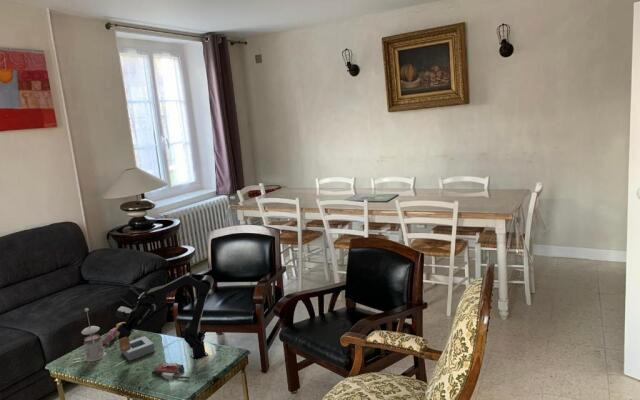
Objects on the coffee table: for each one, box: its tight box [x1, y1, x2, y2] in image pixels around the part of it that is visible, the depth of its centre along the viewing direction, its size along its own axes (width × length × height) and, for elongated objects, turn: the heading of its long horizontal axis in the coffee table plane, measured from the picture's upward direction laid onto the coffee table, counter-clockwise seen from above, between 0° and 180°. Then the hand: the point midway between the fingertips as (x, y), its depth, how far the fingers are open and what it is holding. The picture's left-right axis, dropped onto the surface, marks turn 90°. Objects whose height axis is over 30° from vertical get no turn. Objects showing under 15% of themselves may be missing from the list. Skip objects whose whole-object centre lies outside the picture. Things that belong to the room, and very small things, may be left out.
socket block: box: [121, 335, 155, 361], centre depth 234 cm, size 12×12×4 cm
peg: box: [115, 321, 131, 353], centre depth 222 cm, size 4×4×12 cm
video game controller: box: [102, 327, 118, 345], centre depth 250 cm, size 10×5×7 cm, turn 0°
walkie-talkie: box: [151, 362, 190, 380], centre depth 210 cm, size 9×4×20 cm
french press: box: [80, 307, 107, 362], centre depth 232 cm, size 10×12×25 cm
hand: (120, 336), depth 222 cm, fingers closed on peg, 4 cm apart
